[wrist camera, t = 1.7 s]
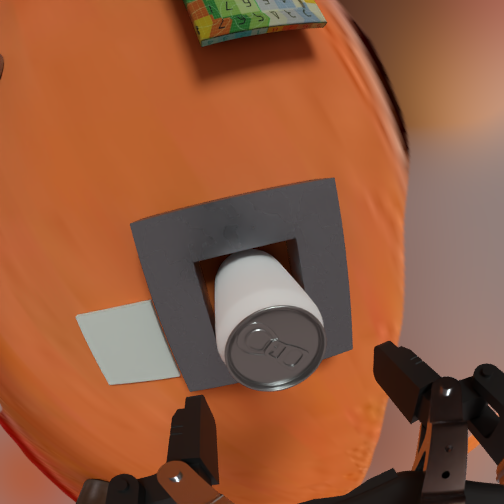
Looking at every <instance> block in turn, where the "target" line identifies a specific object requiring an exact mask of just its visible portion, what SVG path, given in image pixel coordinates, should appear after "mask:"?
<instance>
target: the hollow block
mask: <svg viewBox="0 0 504 504" xmlns="http://www.w3.org/2000/svg"><path fill="white" fill-rule="evenodd" d="M130 226H131V230H132V234H133V238H134V241H135V245H136V248H137V252H138V255H139V259H140V262H141V265H142V269H143V272H144V275H145V278H146V281H147V284H148V287H149V290H150V293H151V296H152V299H153V302H154V305H155V308H156V311H157V313H158V316H159V319H160V321H161V324H162V327H163V329H164V332H165V335H166V337H167V340H168V342H169V345H170V347H171V350H172V352H173V354H174V357H175V359H176V362H177V364H178V366H179V368H180V371H181V373H182V375H183V378H184V380H185V382H186V384H187V386H188V388H189V391H190V392H192V391H198V390H204V389H209V388H215V387H220V386H225V385H230V384H234V383H239V382H238V381H237V380H235V379H234V378H233V376H232V375H231V374H230V372H229V371H228V369H227V366H226V364H225V363H224V362H223V360H222V358H221V357H220V354H219V352H218V348H217V343H216V330H215V315H214V312H213V309H212V305H211V302H210V298H209V295H208V291H207V288H206V284H205V281H204V277H203V273H202V270H201V266H200V262H199V261H201V260H205V259H209V258H213V257H217V256H222V255H226V254H230V253H234V252H238V251H243V250H247V249H251V248H255V247H260V246H264V245H268V244H272V243H276V242H281V241H286V246H287V252H288V257H289V263H290V268H291V274H292V277H293V278H294V280H295V281H296V282H297V283H298V284H299V285H300V287H301V288H302V289H303V290H304V291H305V292H306V293H307V295H308V296H309V297H310V298H311V299H312V301H313V302H314V303H315V305H316V306H317V308H318V310H319V312H320V314H321V316H322V320H323V326H324V330H325V333H326V338H327V346H326V351H325V355H324V357H323V359H326V358H329V357H332V356H335V355H338V354H340V353H343V352H346V351H349V350H352V349H353V345H352V321H351V305H350V291H349V280H348V269H347V260H346V251H345V243H344V235H343V228H342V221H341V214H340V208H339V201H338V195H337V190H336V184H335V178H324V179H314V180H309V181H303V182H297V183H292V184H287V185H282V186H277V187H271V188H267V189H262V190H257V191H252V192H247V193H243V194H238V195H234V196H229V197H225V198H221V199H216V200H212V201H208V202H204V203H200V204H195V205H191V206H187V207H184V208H180V209H176V210H172V211H168V212H164V213H161V214H157V215H153V216H150V217H146V218H143V219H140V220H138V221H135V222H133V223H131V224H130ZM323 359H322V360H323Z"/></svg>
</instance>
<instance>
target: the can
mask: <svg viewBox="0 0 504 504" xmlns="http://www.w3.org/2000/svg"><path fill="white" fill-rule="evenodd" d="M215 330H216V343H217V348H218V352H219V354H220V357H221V358H222V360H223V362H224V363H225V364H226V366H227V369H228V371H229V372H230V374H231V375H232V376H233V378H234V379H235V380H237V381H238V382H239V383H240V384H242V385H244V386H246V387H248V388H250V389H254V390H258V391H268V392H269V391H279V390H284V389H287V388H290V387H293V386H295V385H297V384H299V383H301V382H302V381H304V380H305V379H307V378H308V377H309V376H310V375H311V374H312V373H313V372H314V371H315V370H316V369H317V368H318V366H319V365H320V363H321V361H322V359H323V357H324V355H325V351H326V346H327V338H326V333H325V330H324V326H323V320H322V316H321V314H320V312H319V310H318V308H317V306H316V305H315V303H314V302H313V301H312V299H311V298H310V297H309V296H308V295H307V293H306V292H305V291H304V290H303V289H302V288H301V287H300V285H299V284H298V283H297V282H296V281H295V280H294V278H293V277H292V276H291V275H290V274H289V273H288V272H287V271H286V269H285V268H284V267H283V266H282V265H281V264H280V263H279V262H278V261H277V260H276V259H275V258H274V257H273V256H272V255H270V254H268V253H267V252H264V251H261V250H257V249H247V250H243V251H238V252H236V253H234V254H232V255H230V256H229V257H227V258H226V259H225V260H224V261H223V263H222V264H221V265H220V267H219V269H218V272H217V275H216V278H215Z"/></svg>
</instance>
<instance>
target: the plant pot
mask: <svg viewBox="0 0 504 504" xmlns="http://www.w3.org/2000/svg"><path fill="white" fill-rule="evenodd" d="M108 485H109V482H105V481H102V480H96V479H88V480H86V481H85V483H84V485H83V488H82V490H81V492H80V495H79V497H78V499H77V502H76V504H105V502H106V496H107V490H108Z"/></svg>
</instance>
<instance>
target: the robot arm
mask: <svg viewBox="0 0 504 504" xmlns="http://www.w3.org/2000/svg"><path fill="white" fill-rule="evenodd" d="M2 69H3V57H2V55H1V54H0V76H1V73H2ZM373 373H374V377H375V379H376V381H377V383H378V384H379V385H380V386H381V388H382V389H383V390H384V391H385V392H386V394H387V395H388V396H389V397H390V399H391V400H392V401H393V402H394V404H395V405H396V406H397V407H398V408H399V410H400V411H401V412H402V414H403V415H404V416H405V417H406V419H407V420H408V421H409V422H410V424H412V423H413V422H415V421H417V420H419V421H420V422H421V425H420V431H419V438H418V445H417V451H416V457H415V461H414V464H413V467H412V470H411V471H403V472H398V473H396V472H395V470H394V469H393V468H392V469H390V470H388V471H386V472H384V473H382V474H380V475H377V476H375V477H373V478H371V479H369V480H367V481H366V482H365V483H363V484H361V485H360V486H358V487H357V488H355V489H354V490H352V491H351V492H349V493H348V494H346V495H343V496H337V497H329V498H321V499H313V500H310V501H306V502H303V503H299V504H504V373H503V372H502V371H501V370H499V369H498V368H497V367H496V366H494V365H492V364H482V365H479V366H478V367H477V368H476V369H475V371H474V374H473V376H472V377H468V378H466V379H463V380H459V381H458V380H457V379H455V378H452V377H440V376H439V375H438V374H437V373H436V372H435V371H434V370H433V369H432V368H430V367H429V366H428V365H427V364H426V363H425V362H424V361H422V360H421V359H420V358H419V357H417V355H416V354H415V353H413V352H412V351H411V350H410V349H407V348H405V347H402V346H401V347H399V348H398V347H397V346H396V345H394V344H393V343H392V342H391V341H387V342H385V343H382V344H380V345H377V346H375V348H374V366H373ZM488 404H490V405H491V407H492V408H493V409H494V410H495V411H496V412H497V413H498V414H499V417H498V416H497V415H496V414H495V412H494V411H493V410H492V409H491V408H490V407H489V406H488ZM468 429H469V431H470V432H471V433H472V434H473V435H474V437H475V438H476V439H477V440H478V442H479V443H480V444H481V445H482V447H483V448H484V449H485V450H486V452H487V453H488V454H489V455H490V457H491V458H492V459H493V460H494V461H495V463H496V464H497V470H496V473H497V477H496V480H497V482H498V483H500V484H492V483H482V482H475V481H468V480H465V479H466V468H467V451H468ZM216 484H219V473H218V456H217V435H216V424H215V420H214V417H213V415H212V413H211V410H210V408H209V406H208V404H207V402H206V400H205V397H204V396H203V395H197V396H191V397H186V401H185V408H184V409H178V410H177V411H176V413H175V414H174V416H173V417H172V423H171V430H170V438H169V446H168V455H167V462H166V463H165V464H164V465H162V466H161V467H160V468H159V470H158V472H157V474H155V475H152V476H148V477H144V478H140V479H136V478H135V477H133V476H132V475H129V474H120V475H117V476H115V477H114V478H113V479H112V480H111V481H110V482H109V485H108V490H107V496H106V502H105V504H234V503H233V502H232V501H230V500H229V499H228V498H226V497H225V496H224V495H222V494H220V493H218V492H217V491H216V490H215V489H214V488H212V485H216Z"/></svg>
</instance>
